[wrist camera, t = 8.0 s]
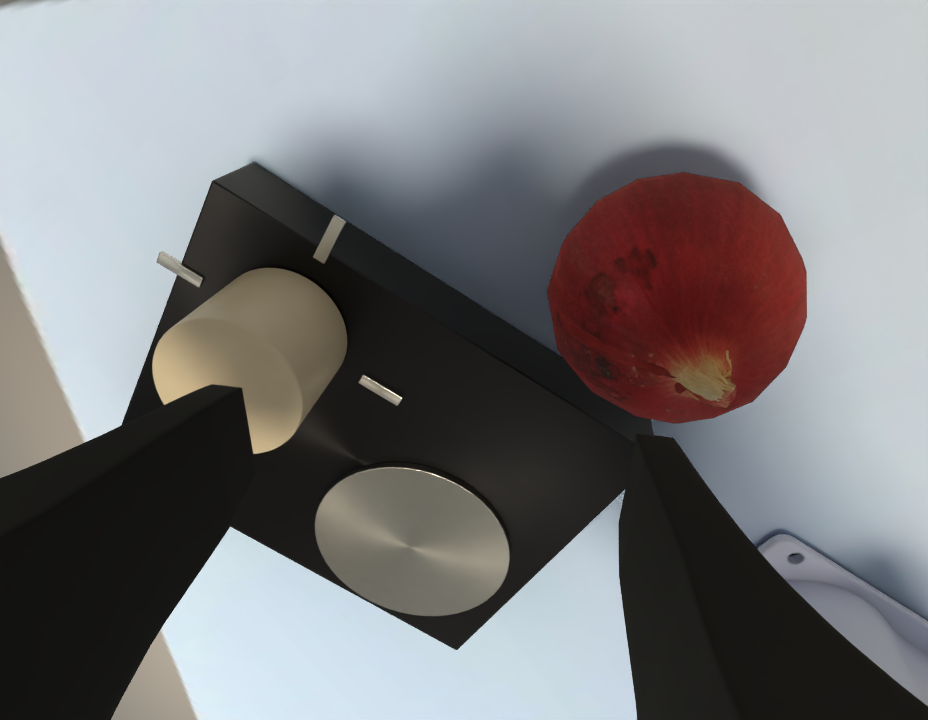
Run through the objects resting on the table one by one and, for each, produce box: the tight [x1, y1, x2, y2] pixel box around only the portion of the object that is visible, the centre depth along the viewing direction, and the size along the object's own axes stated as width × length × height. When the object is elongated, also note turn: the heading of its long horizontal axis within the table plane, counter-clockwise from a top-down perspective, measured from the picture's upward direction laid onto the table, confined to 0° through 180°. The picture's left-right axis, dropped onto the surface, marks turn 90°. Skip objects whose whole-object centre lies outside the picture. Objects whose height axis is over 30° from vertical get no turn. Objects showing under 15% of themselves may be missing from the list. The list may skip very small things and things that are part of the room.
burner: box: [315, 462, 511, 616], centre depth 22 cm, size 7×7×1 cm
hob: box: [121, 163, 653, 650], centre depth 22 cm, size 16×13×3 cm
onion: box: [547, 172, 807, 423], centre depth 15 cm, size 6×6×8 cm
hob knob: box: [152, 268, 347, 454], centre depth 17 cm, size 4×4×4 cm
